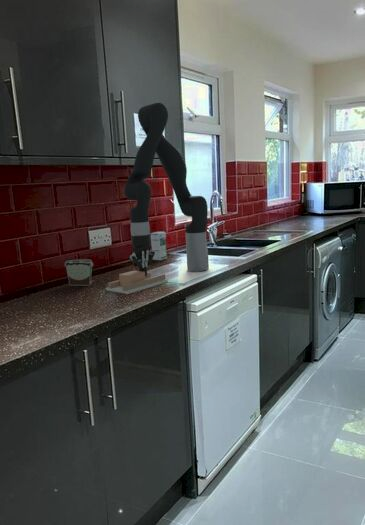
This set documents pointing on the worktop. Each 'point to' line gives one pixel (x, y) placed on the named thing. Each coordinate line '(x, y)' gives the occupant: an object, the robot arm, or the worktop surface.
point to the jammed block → (131, 277)
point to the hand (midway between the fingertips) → (143, 276)
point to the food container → (79, 272)
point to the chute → (137, 284)
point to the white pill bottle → (159, 245)
